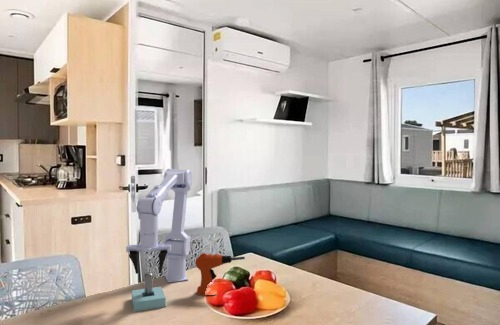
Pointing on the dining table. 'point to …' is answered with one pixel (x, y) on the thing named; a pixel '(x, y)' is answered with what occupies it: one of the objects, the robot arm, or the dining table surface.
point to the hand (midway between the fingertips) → (149, 272)
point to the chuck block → (148, 299)
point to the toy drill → (210, 268)
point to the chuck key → (148, 284)
